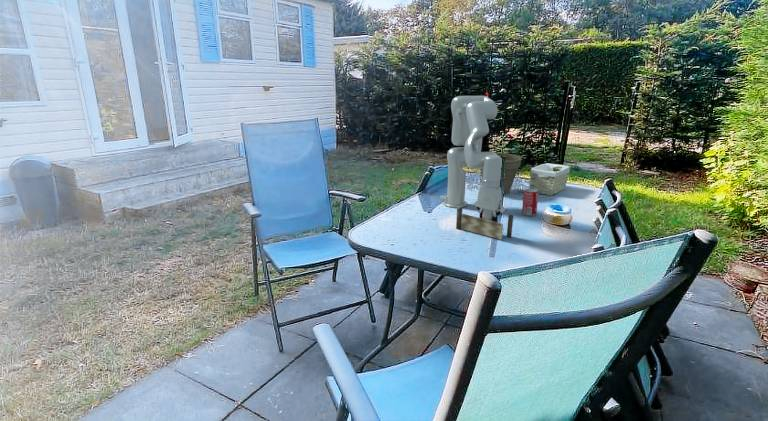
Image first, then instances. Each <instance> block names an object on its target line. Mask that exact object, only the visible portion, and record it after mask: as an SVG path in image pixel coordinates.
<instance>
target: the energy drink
mask: <svg viewBox="0 0 768 421" xmlns="http://www.w3.org/2000/svg"><path fill="white" fill-rule="evenodd" d="M493 216H494V214H493V211H491V210H488V209H483V215H482V219H486V220H490V221H492V217H493Z"/></svg>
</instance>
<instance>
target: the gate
mask: <svg viewBox="0 0 768 421" xmlns="http://www.w3.org/2000/svg"><path fill="white" fill-rule="evenodd" d="M503 229H504V223H502V222H498V221H497V222H495V221H490V220H486V219H482V218H479V217H477V216H473V215H469V214H467V213H466V214H465V213H462V220H461V229H460V230H465V231H468V232H472V233H474V234H475V233H476V234H479V235H483V236H486V237H491V238H493V239H498V240H502V239H503V232H504V230H503Z"/></svg>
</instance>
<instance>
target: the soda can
mask: <svg viewBox="0 0 768 421" xmlns="http://www.w3.org/2000/svg"><path fill="white" fill-rule="evenodd" d="M538 202H539V193H538V190H537V189H531V188H530V187H529V188H525V189H524V191H523V197H522V209H521V213H522V215H523V216H527V217H534V216H536V215H537V213H538V212H537V211H538Z"/></svg>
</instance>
